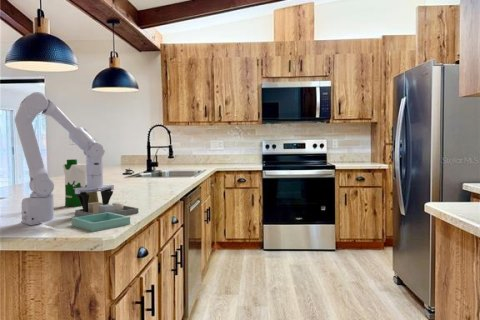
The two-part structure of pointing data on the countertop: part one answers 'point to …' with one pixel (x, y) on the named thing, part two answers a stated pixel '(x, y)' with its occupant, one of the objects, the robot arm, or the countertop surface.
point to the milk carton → (74, 181)
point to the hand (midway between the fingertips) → (95, 210)
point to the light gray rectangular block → (106, 208)
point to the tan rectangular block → (94, 207)
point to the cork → (92, 196)
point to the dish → (100, 221)
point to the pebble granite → (118, 206)
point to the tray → (125, 211)
